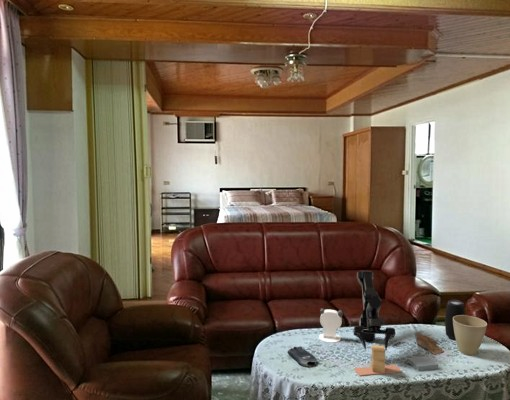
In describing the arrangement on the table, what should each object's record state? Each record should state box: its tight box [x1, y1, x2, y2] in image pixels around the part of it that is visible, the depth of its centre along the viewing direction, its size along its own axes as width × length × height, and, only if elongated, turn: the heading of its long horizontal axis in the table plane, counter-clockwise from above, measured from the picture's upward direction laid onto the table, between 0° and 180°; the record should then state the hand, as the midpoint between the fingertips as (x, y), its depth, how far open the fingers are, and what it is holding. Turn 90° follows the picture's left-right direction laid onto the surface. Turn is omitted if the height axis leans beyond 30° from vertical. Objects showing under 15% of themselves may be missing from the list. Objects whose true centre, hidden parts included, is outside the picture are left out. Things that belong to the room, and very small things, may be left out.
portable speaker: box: [444, 299, 466, 341], centre depth 219 cm, size 9×9×20 cm
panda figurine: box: [318, 307, 344, 343], centre depth 218 cm, size 12×11×15 cm
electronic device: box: [287, 345, 318, 368], centre depth 195 cm, size 9×6×15 cm
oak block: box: [370, 344, 386, 373], centre depth 184 cm, size 5×5×10 cm
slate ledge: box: [407, 356, 439, 372], centre depth 190 cm, size 10×8×2 cm
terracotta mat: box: [353, 364, 403, 377], centre depth 185 cm, size 20×6×1 cm, turn 101°
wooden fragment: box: [415, 332, 445, 356], centre depth 213 cm, size 26×11×1 cm, turn 175°
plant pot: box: [453, 314, 488, 356], centre depth 202 cm, size 15×15×16 cm
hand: (375, 349), depth 191 cm, fingers open, 9 cm apart
